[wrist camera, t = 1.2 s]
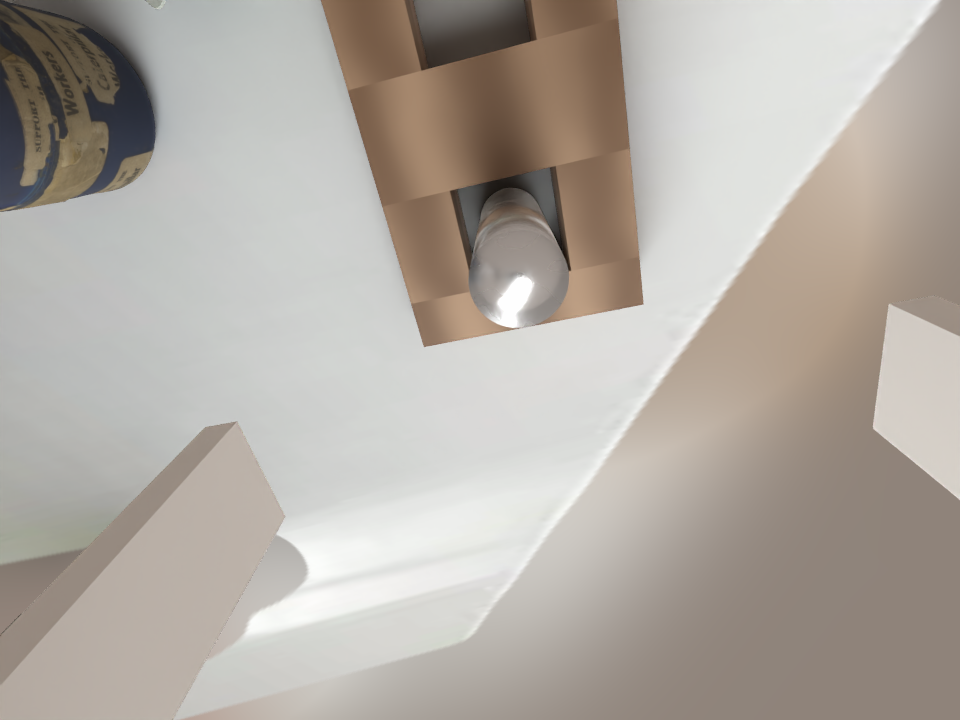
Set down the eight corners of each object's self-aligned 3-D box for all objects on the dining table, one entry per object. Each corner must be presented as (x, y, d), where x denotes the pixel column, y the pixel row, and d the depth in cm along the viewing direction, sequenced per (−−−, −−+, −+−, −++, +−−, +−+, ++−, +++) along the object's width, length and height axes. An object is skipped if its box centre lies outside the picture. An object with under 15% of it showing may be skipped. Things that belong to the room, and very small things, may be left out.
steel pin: (487, 256, 33) (480, 336, 21) (474, 195, 32) (458, 242, 19) (546, 243, 33) (575, 317, 20) (535, 181, 31) (561, 219, 19)
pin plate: (431, 324, 36) (423, 348, 32) (312, -97, 26) (279, -136, 22) (628, 285, 34) (644, 305, 30) (580, -183, 24) (596, -242, 20)
